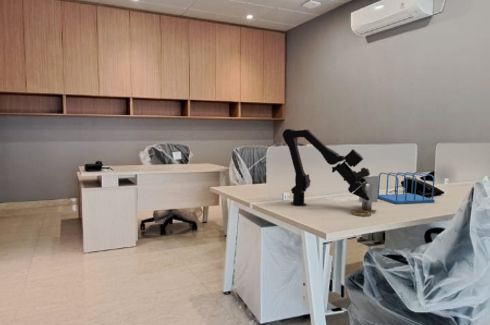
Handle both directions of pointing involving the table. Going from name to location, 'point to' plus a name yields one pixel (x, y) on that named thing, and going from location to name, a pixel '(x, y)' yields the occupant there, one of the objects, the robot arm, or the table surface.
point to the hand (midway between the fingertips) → (370, 198)
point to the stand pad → (371, 210)
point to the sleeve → (368, 190)
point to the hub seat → (357, 212)
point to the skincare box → (373, 180)
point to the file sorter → (406, 197)
